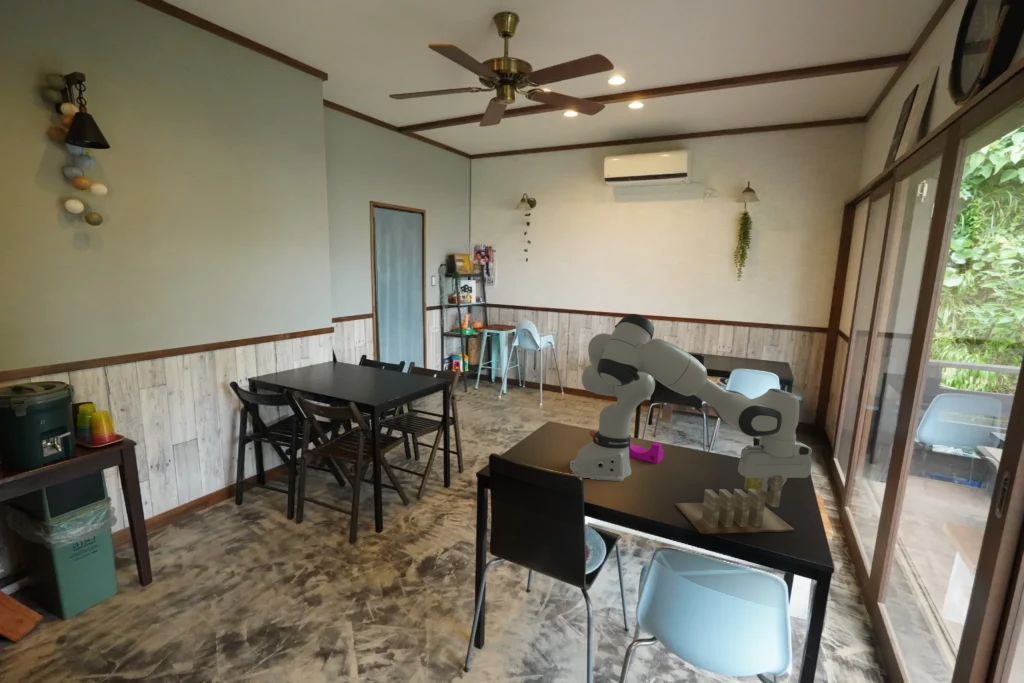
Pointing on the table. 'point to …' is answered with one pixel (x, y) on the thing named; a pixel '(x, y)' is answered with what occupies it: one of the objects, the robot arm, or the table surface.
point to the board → (768, 525)
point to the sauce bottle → (753, 482)
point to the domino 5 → (773, 491)
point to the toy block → (647, 452)
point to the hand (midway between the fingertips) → (771, 490)
